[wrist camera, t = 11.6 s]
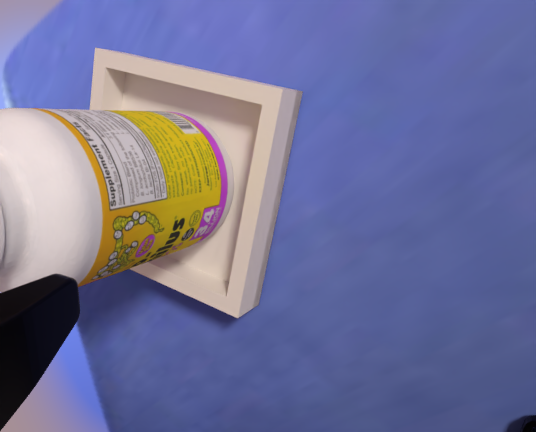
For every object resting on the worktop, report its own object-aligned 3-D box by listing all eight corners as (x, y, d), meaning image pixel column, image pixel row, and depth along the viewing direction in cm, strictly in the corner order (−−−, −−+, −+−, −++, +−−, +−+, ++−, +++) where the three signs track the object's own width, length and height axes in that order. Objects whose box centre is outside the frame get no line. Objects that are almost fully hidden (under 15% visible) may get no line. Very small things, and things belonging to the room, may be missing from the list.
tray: (258, 304, 25) (237, 318, 23) (104, 238, 29) (77, 245, 28) (302, 91, 22) (282, 89, 20) (124, 52, 26) (95, 47, 25)
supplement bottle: (161, 258, 27) (-107, 358, 16) (117, 143, 27) (-181, 161, 16) (261, 219, 23) (11, 310, 12) (210, 88, 23) (-84, 59, 12)
